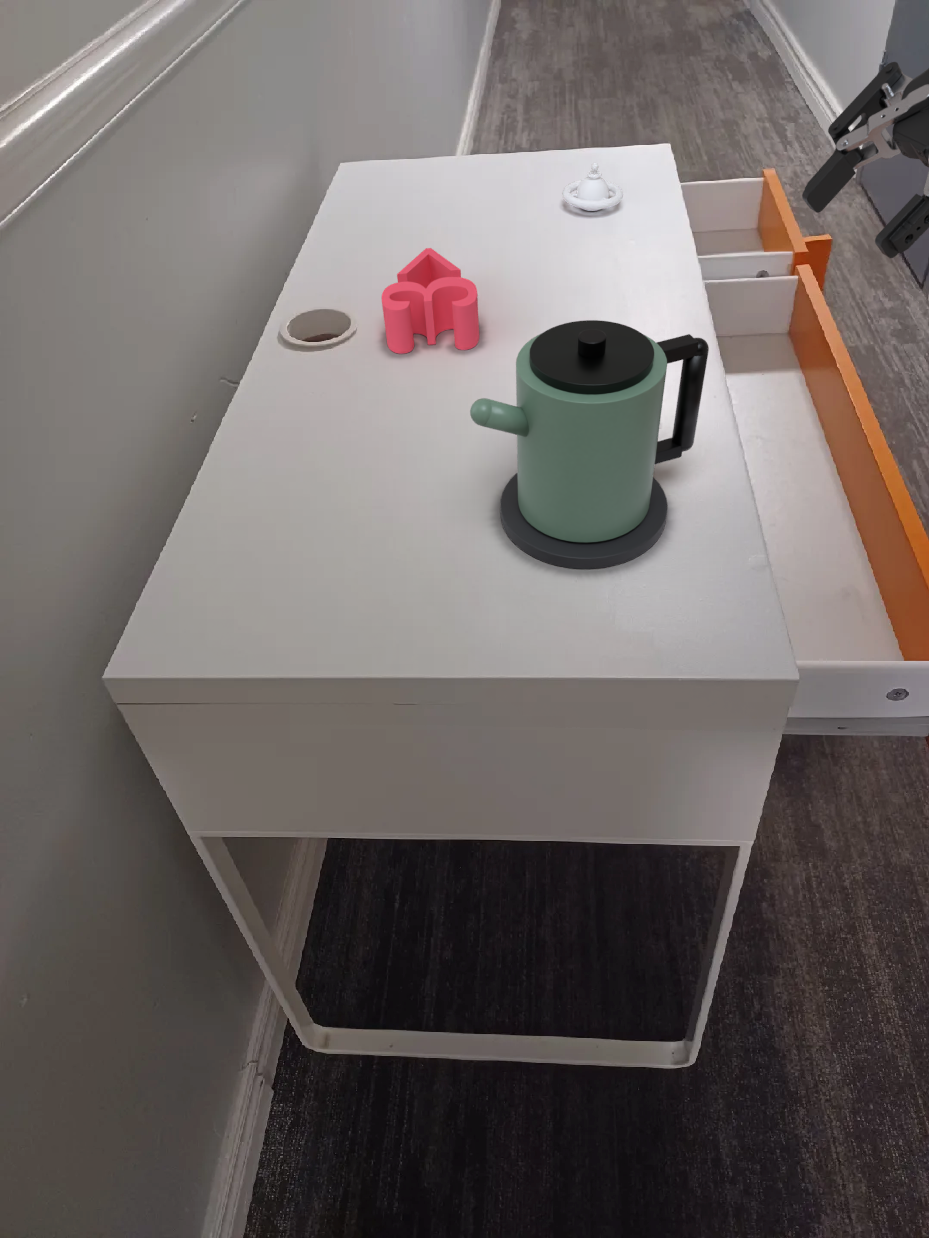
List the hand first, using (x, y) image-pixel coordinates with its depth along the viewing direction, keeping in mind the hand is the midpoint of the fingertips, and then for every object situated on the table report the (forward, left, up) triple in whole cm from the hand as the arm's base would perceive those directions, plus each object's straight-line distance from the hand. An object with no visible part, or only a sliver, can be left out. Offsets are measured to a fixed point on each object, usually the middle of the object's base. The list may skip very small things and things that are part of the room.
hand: (844, 227), depth 64 cm
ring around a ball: (+25, -50, -20) cm, 60 cm away
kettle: (+16, +11, -19) cm, 27 cm away
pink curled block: (+38, -18, -20) cm, 47 cm away
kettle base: (+16, +12, -20) cm, 29 cm away
